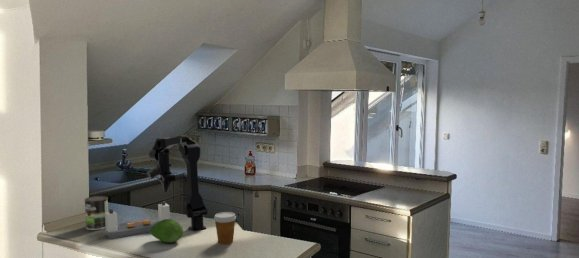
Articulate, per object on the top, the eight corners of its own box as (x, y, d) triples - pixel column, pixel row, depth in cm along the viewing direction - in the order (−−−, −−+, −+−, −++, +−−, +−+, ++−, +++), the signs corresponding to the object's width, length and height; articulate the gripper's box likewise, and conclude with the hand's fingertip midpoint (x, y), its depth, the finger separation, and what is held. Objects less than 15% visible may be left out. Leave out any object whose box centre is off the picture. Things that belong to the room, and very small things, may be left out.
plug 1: (118, 230, 208) (116, 210, 207) (108, 232, 206) (107, 211, 205) (115, 228, 212) (114, 207, 211) (106, 229, 210) (105, 209, 209)
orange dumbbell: (150, 223, 217) (150, 220, 217) (128, 227, 211) (128, 223, 211) (148, 222, 219) (148, 219, 219) (127, 226, 214) (126, 223, 214)
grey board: (171, 227, 220) (171, 222, 219) (109, 238, 205) (109, 233, 204) (166, 223, 226) (165, 218, 226) (105, 234, 211) (105, 228, 211)
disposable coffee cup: (227, 247, 192) (226, 219, 191) (209, 243, 198) (209, 215, 196) (241, 240, 201) (240, 213, 199) (224, 236, 206) (223, 210, 204)
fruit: (145, 242, 199) (144, 220, 198) (161, 235, 208) (160, 214, 207) (172, 247, 193) (172, 224, 192) (188, 240, 201) (187, 218, 200)
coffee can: (97, 231, 216) (96, 201, 214) (81, 228, 220) (79, 199, 218) (113, 225, 225) (112, 196, 224) (97, 222, 229) (96, 195, 228)
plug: (170, 221, 221) (169, 202, 220) (161, 223, 219) (161, 203, 218) (166, 219, 225) (166, 200, 224) (158, 220, 223) (157, 201, 222)
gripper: (143, 161, 239) (144, 190, 241) (153, 166, 224) (155, 197, 225) (164, 159, 245) (165, 187, 247) (176, 163, 230) (177, 194, 231)
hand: (165, 191), depth 237 cm, fingers closed
